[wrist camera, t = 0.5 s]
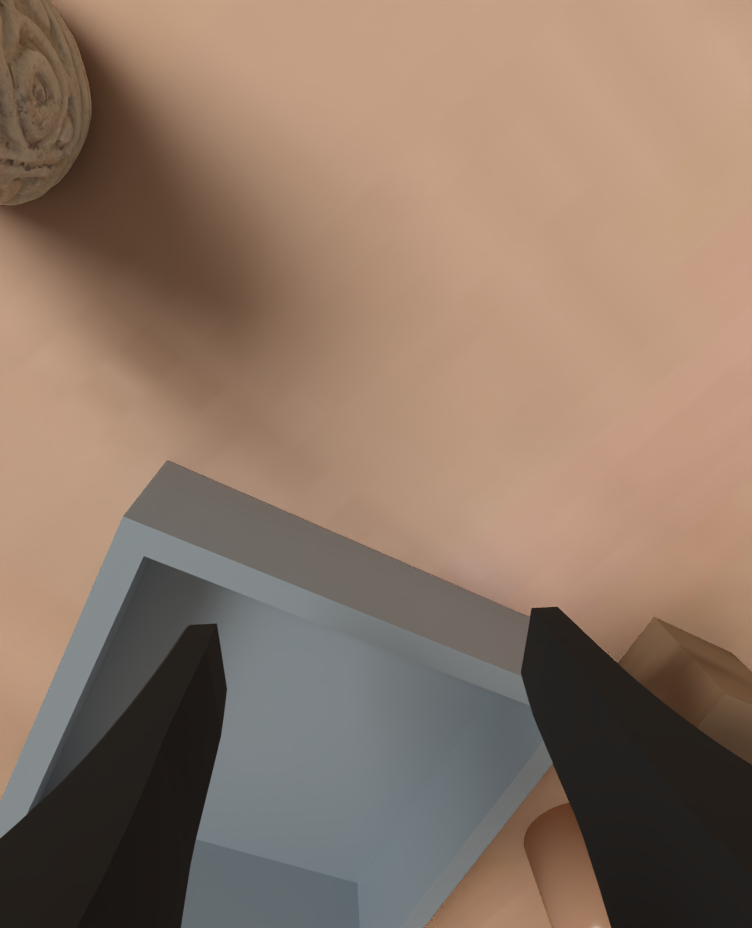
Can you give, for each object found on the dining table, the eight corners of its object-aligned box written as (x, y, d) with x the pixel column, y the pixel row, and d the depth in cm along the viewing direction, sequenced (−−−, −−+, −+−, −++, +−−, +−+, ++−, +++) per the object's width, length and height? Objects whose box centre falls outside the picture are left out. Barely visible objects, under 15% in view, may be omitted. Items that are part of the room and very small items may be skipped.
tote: (364, 880, 30) (371, 993, 25) (22, 786, 26) (-44, 902, 21) (547, 625, 25) (597, 706, 21) (167, 460, 21) (123, 516, 17)
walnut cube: (668, 725, 28) (736, 817, 24) (591, 694, 27) (647, 784, 23) (730, 652, 27) (815, 733, 23) (653, 616, 26) (725, 693, 21)
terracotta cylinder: (578, 876, 32) (645, 1036, 25) (506, 854, 31) (556, 1016, 24) (630, 817, 30) (714, 969, 24) (557, 791, 29) (624, 945, 23)
